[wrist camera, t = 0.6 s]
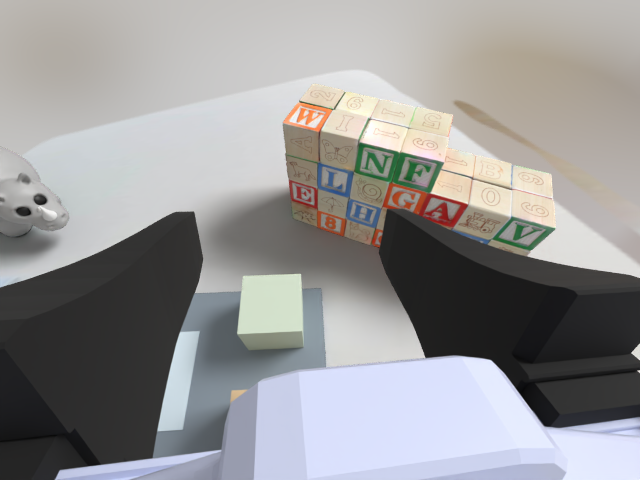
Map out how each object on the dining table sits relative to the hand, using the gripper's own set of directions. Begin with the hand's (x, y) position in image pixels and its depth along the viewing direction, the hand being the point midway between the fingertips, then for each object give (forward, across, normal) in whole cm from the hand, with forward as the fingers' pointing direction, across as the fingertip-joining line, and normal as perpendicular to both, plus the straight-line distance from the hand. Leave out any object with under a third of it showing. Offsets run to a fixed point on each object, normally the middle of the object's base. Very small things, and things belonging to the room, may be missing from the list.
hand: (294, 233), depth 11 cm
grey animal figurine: (+22, +25, +11) cm, 35 cm away
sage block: (+8, +1, +14) cm, 16 cm away
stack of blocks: (+17, -12, +10) cm, 23 cm away
